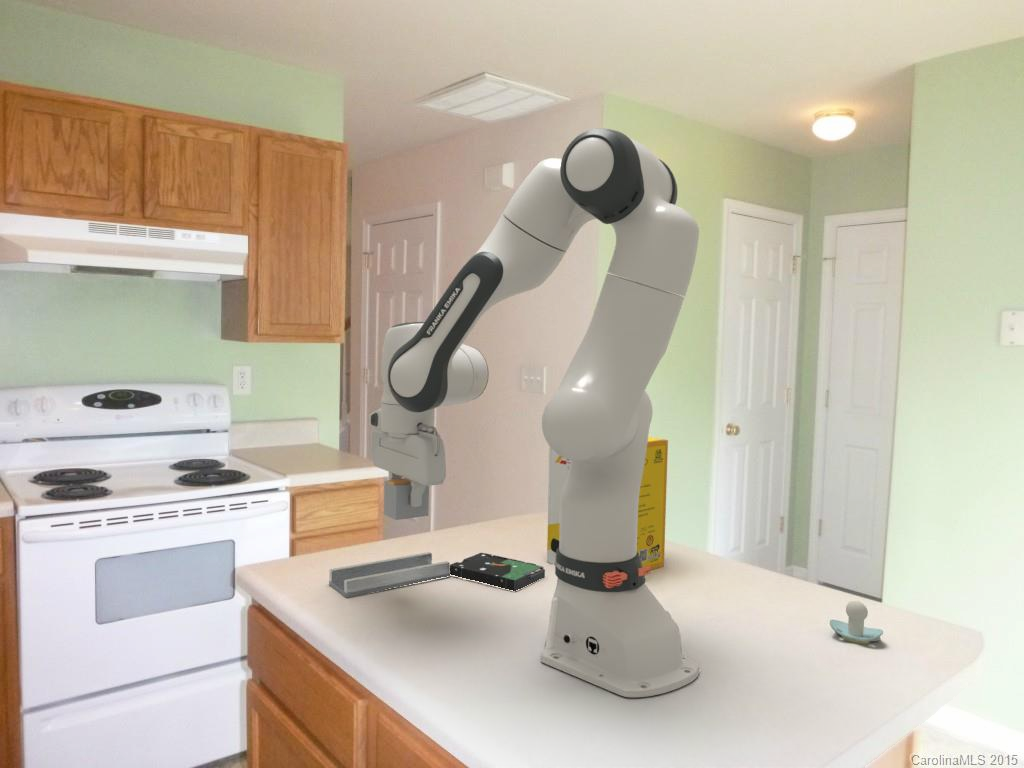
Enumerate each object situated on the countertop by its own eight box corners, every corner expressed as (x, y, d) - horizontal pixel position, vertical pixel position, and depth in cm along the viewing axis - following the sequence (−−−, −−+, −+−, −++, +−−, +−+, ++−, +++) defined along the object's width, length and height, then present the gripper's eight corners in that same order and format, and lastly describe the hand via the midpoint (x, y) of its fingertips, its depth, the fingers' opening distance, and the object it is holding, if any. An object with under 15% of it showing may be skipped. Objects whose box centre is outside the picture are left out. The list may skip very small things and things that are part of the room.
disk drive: (448, 579, 140) (516, 595, 132) (448, 564, 140) (516, 579, 132) (480, 565, 149) (545, 579, 141) (480, 551, 148) (546, 564, 140)
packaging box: (546, 562, 149) (549, 436, 148) (601, 547, 160) (604, 430, 159) (609, 583, 137) (613, 447, 136) (664, 566, 148) (668, 439, 147)
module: (428, 515, 127) (429, 480, 126) (395, 520, 123) (396, 483, 123) (415, 510, 130) (416, 475, 130) (384, 514, 127) (384, 478, 126)
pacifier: (834, 628, 119) (826, 639, 114) (836, 589, 119) (829, 598, 114) (885, 639, 115) (880, 651, 110) (887, 598, 115) (882, 608, 110)
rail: (449, 577, 139) (449, 562, 139) (346, 598, 128) (347, 581, 127) (428, 566, 146) (428, 551, 145) (329, 584, 134) (329, 569, 134)
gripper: (456, 426, 119) (454, 513, 120) (397, 412, 135) (396, 489, 137) (421, 429, 115) (419, 518, 116) (364, 414, 132) (363, 492, 133)
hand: (406, 502), depth 127 cm, fingers closed on module, 4 cm apart
